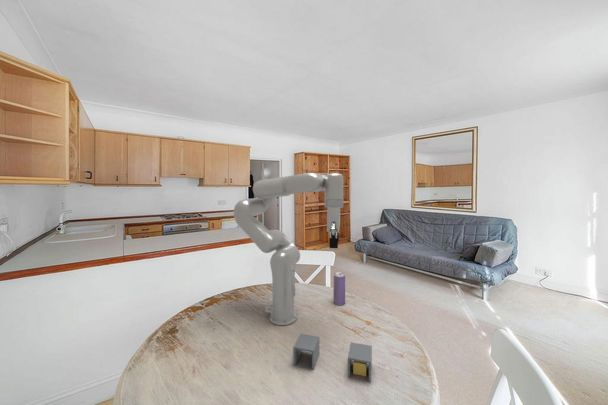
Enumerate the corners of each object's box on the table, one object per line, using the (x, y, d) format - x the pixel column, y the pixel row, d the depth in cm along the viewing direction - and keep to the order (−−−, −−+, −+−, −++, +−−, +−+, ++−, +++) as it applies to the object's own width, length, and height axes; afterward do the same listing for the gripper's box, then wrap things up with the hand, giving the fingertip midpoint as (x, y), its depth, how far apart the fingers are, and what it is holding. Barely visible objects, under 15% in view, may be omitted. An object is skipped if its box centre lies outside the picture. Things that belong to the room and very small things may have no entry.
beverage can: (344, 306, 124) (345, 276, 123) (333, 305, 125) (332, 276, 124) (345, 300, 130) (345, 272, 129) (333, 299, 131) (333, 272, 130)
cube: (353, 374, 79) (353, 362, 79) (354, 365, 83) (354, 353, 83) (366, 376, 78) (366, 364, 78) (366, 367, 82) (366, 356, 81)
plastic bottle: (283, 292, 141) (283, 257, 139) (295, 292, 141) (295, 257, 140) (283, 297, 134) (283, 261, 133) (296, 297, 135) (295, 260, 133)
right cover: (347, 377, 78) (347, 357, 77) (350, 360, 85) (350, 342, 85) (370, 382, 76) (370, 362, 75) (371, 364, 83) (371, 345, 83)
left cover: (293, 365, 83) (293, 346, 83) (300, 350, 91) (300, 333, 90) (313, 370, 81) (313, 350, 80) (319, 354, 88) (319, 336, 88)
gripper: (326, 202, 110) (326, 240, 111) (322, 205, 93) (323, 250, 94) (343, 202, 109) (343, 241, 110) (343, 205, 92) (343, 250, 93)
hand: (334, 245), depth 102 cm, fingers open, 9 cm apart
